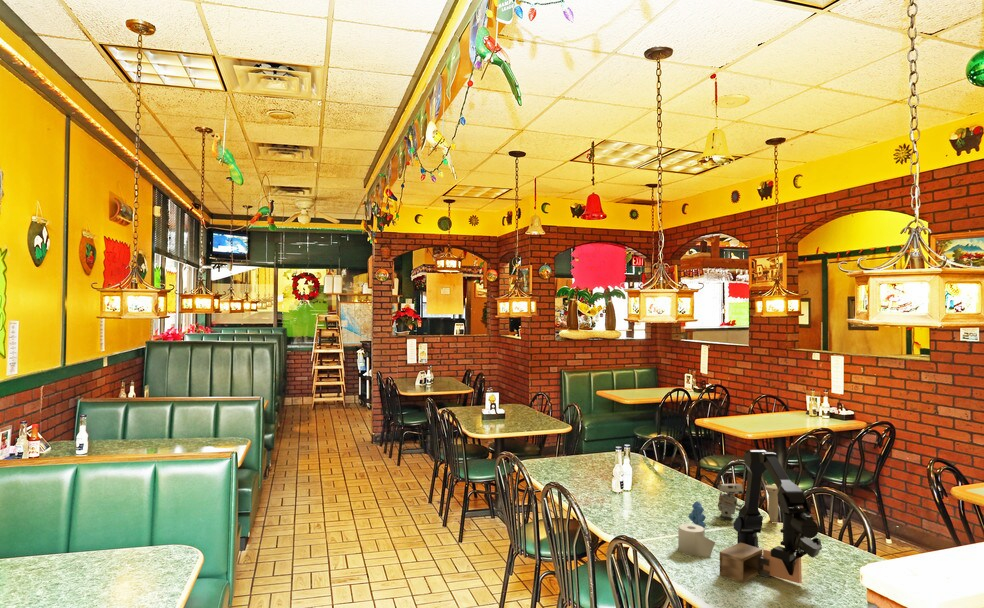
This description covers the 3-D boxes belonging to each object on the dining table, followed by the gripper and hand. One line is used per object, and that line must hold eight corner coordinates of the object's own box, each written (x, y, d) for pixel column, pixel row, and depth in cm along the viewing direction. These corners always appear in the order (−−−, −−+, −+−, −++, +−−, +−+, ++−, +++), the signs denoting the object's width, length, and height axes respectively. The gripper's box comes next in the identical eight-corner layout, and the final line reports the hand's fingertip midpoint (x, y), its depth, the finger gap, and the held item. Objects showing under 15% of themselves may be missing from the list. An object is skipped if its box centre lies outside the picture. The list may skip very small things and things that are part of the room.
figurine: (745, 522, 260) (745, 487, 260) (717, 519, 264) (717, 484, 265) (745, 516, 268) (745, 482, 269) (717, 512, 273) (717, 479, 273)
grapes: (684, 526, 255) (684, 497, 255) (700, 526, 254) (700, 498, 255) (692, 536, 243) (692, 506, 243) (708, 536, 243) (709, 506, 243)
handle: (782, 524, 258) (782, 489, 259) (765, 522, 261) (765, 487, 261) (780, 520, 263) (780, 486, 263) (764, 518, 265) (764, 484, 266)
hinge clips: (758, 574, 207) (758, 556, 207) (765, 570, 210) (764, 553, 210) (768, 577, 204) (768, 560, 204) (774, 574, 207) (774, 556, 207)
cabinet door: (762, 573, 206) (762, 549, 207) (766, 572, 208) (765, 548, 209) (798, 583, 197) (797, 558, 198) (801, 582, 199) (801, 557, 200)
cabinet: (719, 575, 206) (719, 551, 206) (740, 564, 215) (740, 542, 215) (741, 583, 200) (741, 559, 200) (762, 572, 209) (762, 549, 209)
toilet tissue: (715, 558, 221) (715, 534, 221) (677, 552, 226) (677, 529, 226) (715, 549, 229) (715, 527, 229) (679, 544, 234) (679, 522, 234)
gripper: (804, 540, 189) (804, 590, 188) (829, 528, 200) (829, 575, 200) (769, 530, 197) (769, 578, 197) (795, 519, 209) (795, 564, 209)
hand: (792, 574), depth 200 cm, fingers closed on cabinet door, 2 cm apart
